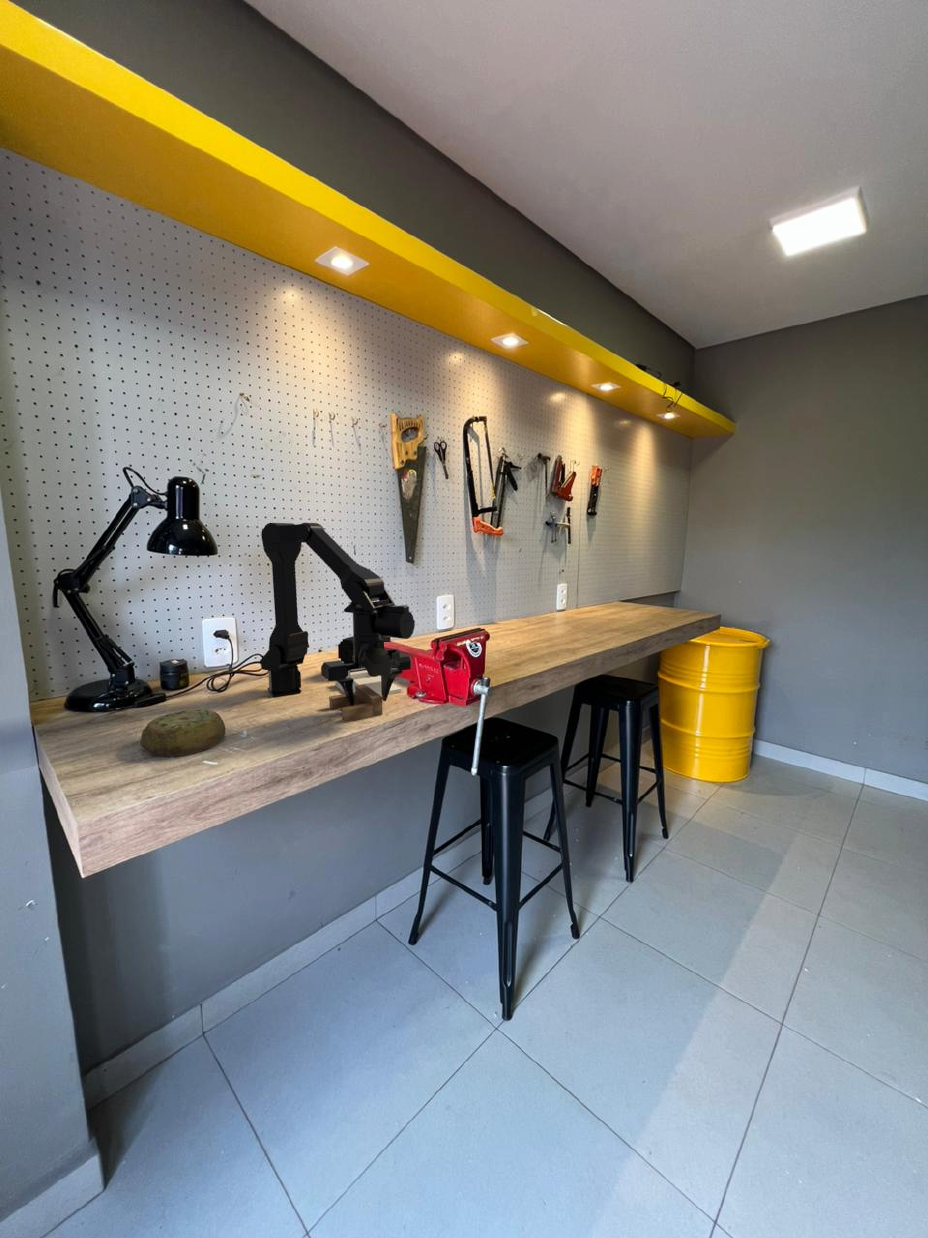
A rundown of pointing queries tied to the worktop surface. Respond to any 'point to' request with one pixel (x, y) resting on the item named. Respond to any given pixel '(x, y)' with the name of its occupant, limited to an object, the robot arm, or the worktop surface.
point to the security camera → (351, 649)
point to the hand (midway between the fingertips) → (368, 703)
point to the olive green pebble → (183, 732)
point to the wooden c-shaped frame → (368, 682)
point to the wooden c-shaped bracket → (358, 704)
